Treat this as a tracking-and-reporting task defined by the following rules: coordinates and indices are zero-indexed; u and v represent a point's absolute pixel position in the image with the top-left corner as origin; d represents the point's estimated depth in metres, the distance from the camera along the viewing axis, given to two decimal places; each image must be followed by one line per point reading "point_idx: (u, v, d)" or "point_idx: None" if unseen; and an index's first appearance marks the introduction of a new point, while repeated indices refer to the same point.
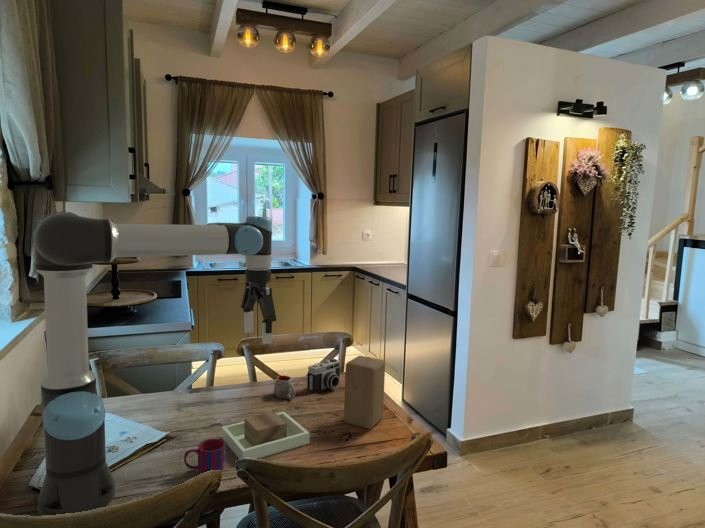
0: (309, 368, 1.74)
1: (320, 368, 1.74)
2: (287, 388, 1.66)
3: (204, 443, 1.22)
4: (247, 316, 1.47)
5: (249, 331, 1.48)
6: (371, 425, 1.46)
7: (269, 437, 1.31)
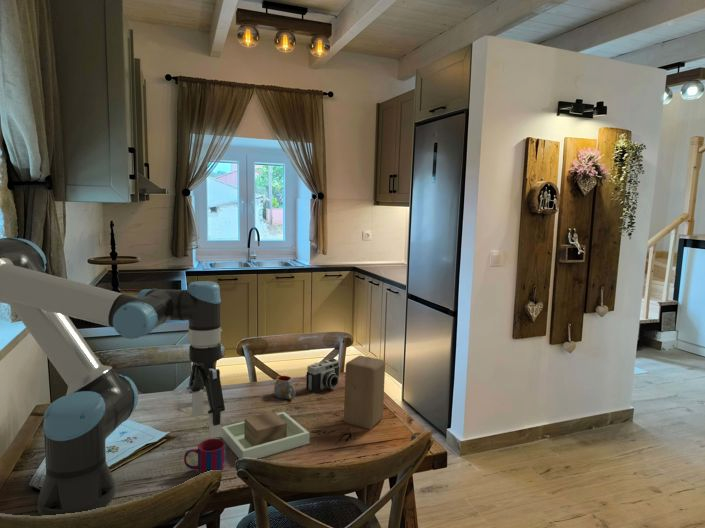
0: (308, 368, 1.74)
1: (319, 368, 1.74)
2: (287, 388, 1.66)
3: (204, 443, 1.22)
4: (195, 396, 1.23)
5: (198, 414, 1.24)
6: (371, 425, 1.46)
7: (269, 437, 1.31)
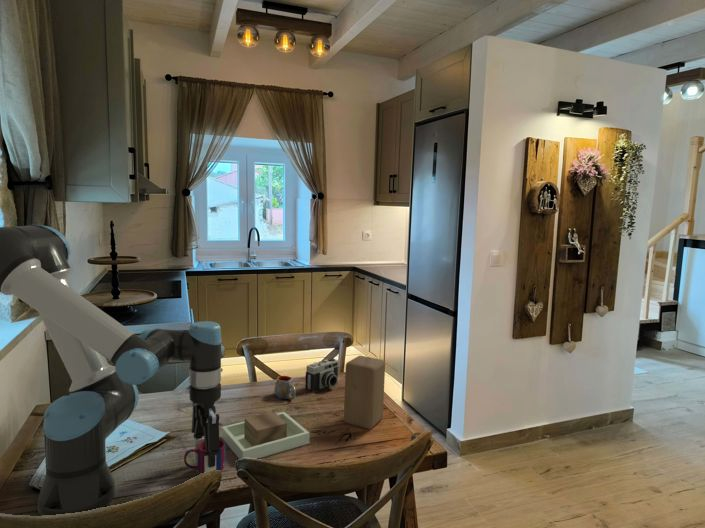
0: (307, 367, 1.74)
1: (318, 367, 1.74)
2: (288, 388, 1.66)
3: (204, 443, 1.22)
4: (198, 444, 1.22)
5: None
6: (371, 425, 1.46)
7: (269, 437, 1.31)
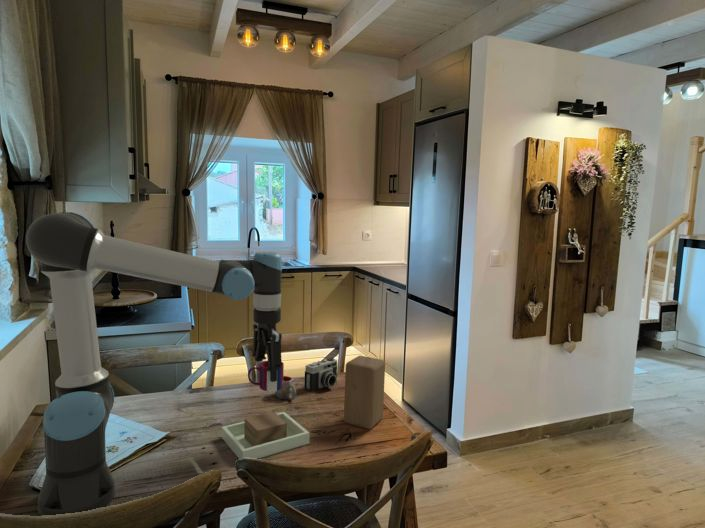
0: (306, 367, 1.75)
1: (317, 367, 1.75)
2: (288, 389, 1.66)
3: (264, 363, 1.35)
4: (259, 365, 1.35)
5: None
6: (371, 425, 1.46)
7: (269, 437, 1.31)
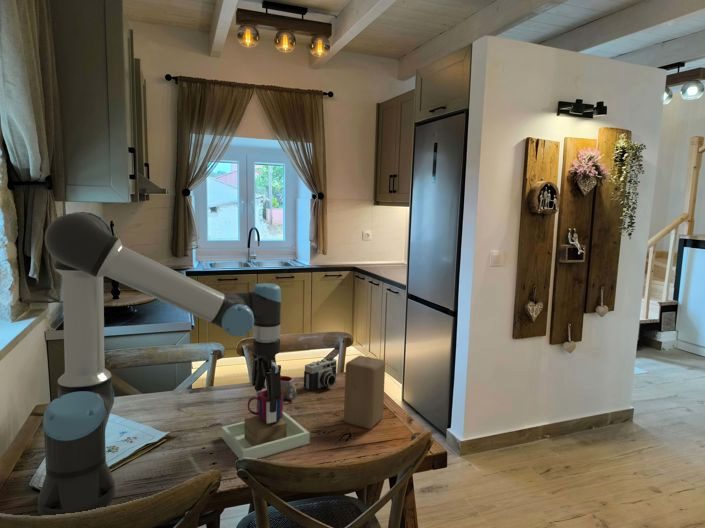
0: (306, 367, 1.75)
1: (316, 367, 1.75)
2: (288, 389, 1.66)
3: (264, 393, 1.36)
4: None
5: None
6: (371, 425, 1.46)
7: (269, 437, 1.31)
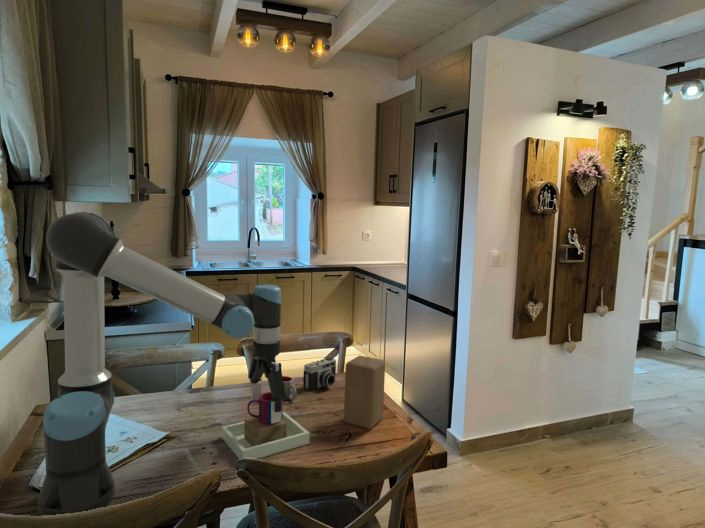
0: (305, 367, 1.75)
1: (316, 366, 1.75)
2: (288, 389, 1.66)
3: (264, 395, 1.37)
4: (255, 387, 1.38)
5: (257, 403, 1.39)
6: (371, 425, 1.46)
7: (269, 437, 1.31)
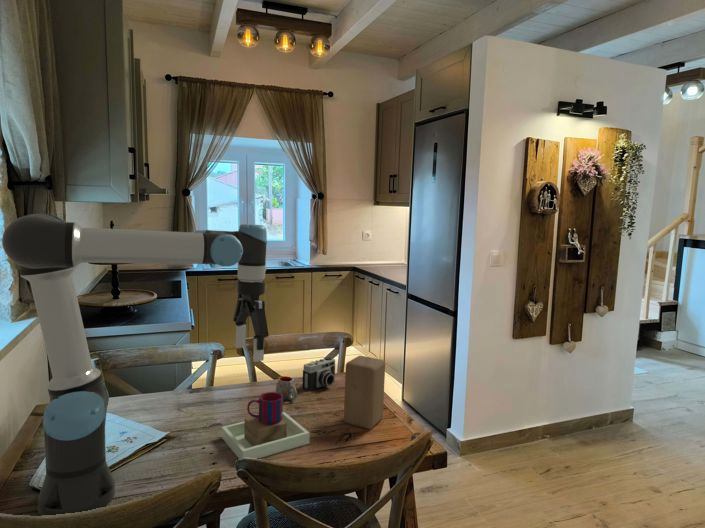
0: (304, 366, 1.75)
1: (315, 366, 1.75)
2: (289, 389, 1.65)
3: (264, 395, 1.37)
4: (239, 329, 1.38)
5: (241, 346, 1.39)
6: (371, 425, 1.46)
7: (269, 437, 1.31)
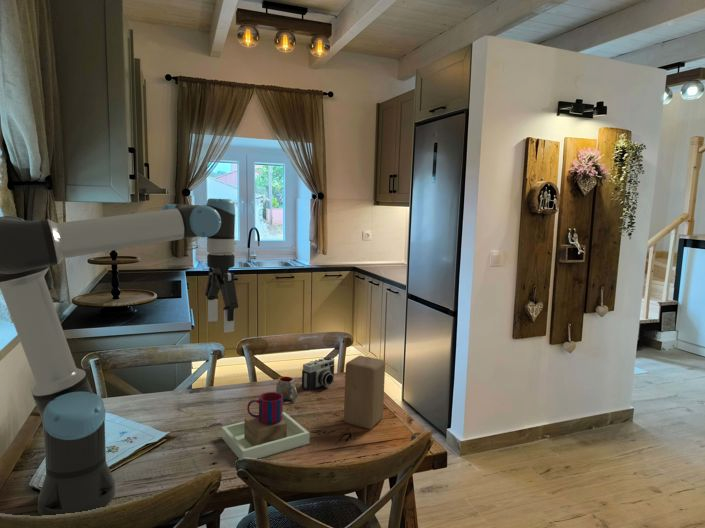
0: (304, 366, 1.76)
1: (314, 366, 1.76)
2: (289, 389, 1.65)
3: (264, 395, 1.37)
4: (211, 303, 1.40)
5: (213, 320, 1.41)
6: (371, 425, 1.46)
7: (269, 437, 1.31)
